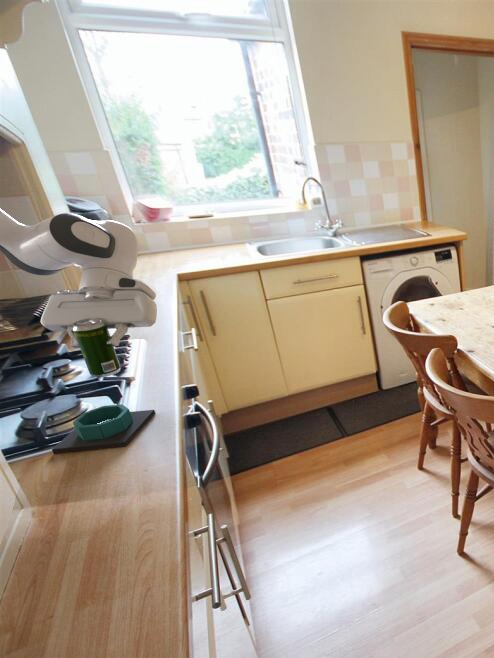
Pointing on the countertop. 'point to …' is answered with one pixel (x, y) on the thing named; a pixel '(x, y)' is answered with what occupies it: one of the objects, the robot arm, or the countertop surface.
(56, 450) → the can pad
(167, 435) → the countertop surface
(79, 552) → the countertop surface
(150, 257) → the countertop surface
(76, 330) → the beer can
